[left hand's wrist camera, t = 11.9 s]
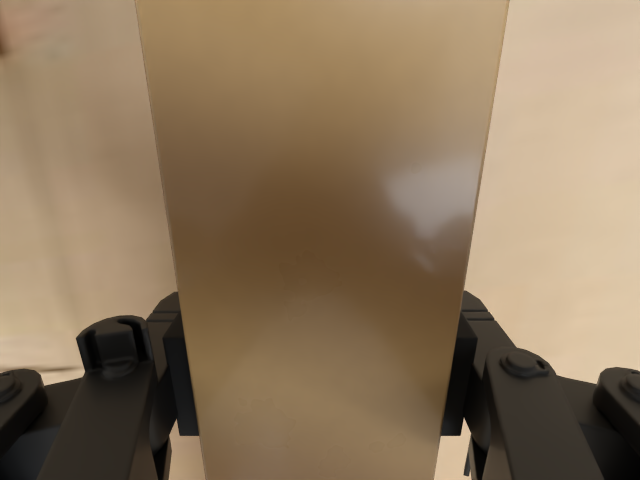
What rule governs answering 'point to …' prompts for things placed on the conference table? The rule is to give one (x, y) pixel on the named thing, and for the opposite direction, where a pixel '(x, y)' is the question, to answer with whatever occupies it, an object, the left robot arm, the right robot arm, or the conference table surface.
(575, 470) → the left robot arm
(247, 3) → the bar
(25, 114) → the conference table surface
